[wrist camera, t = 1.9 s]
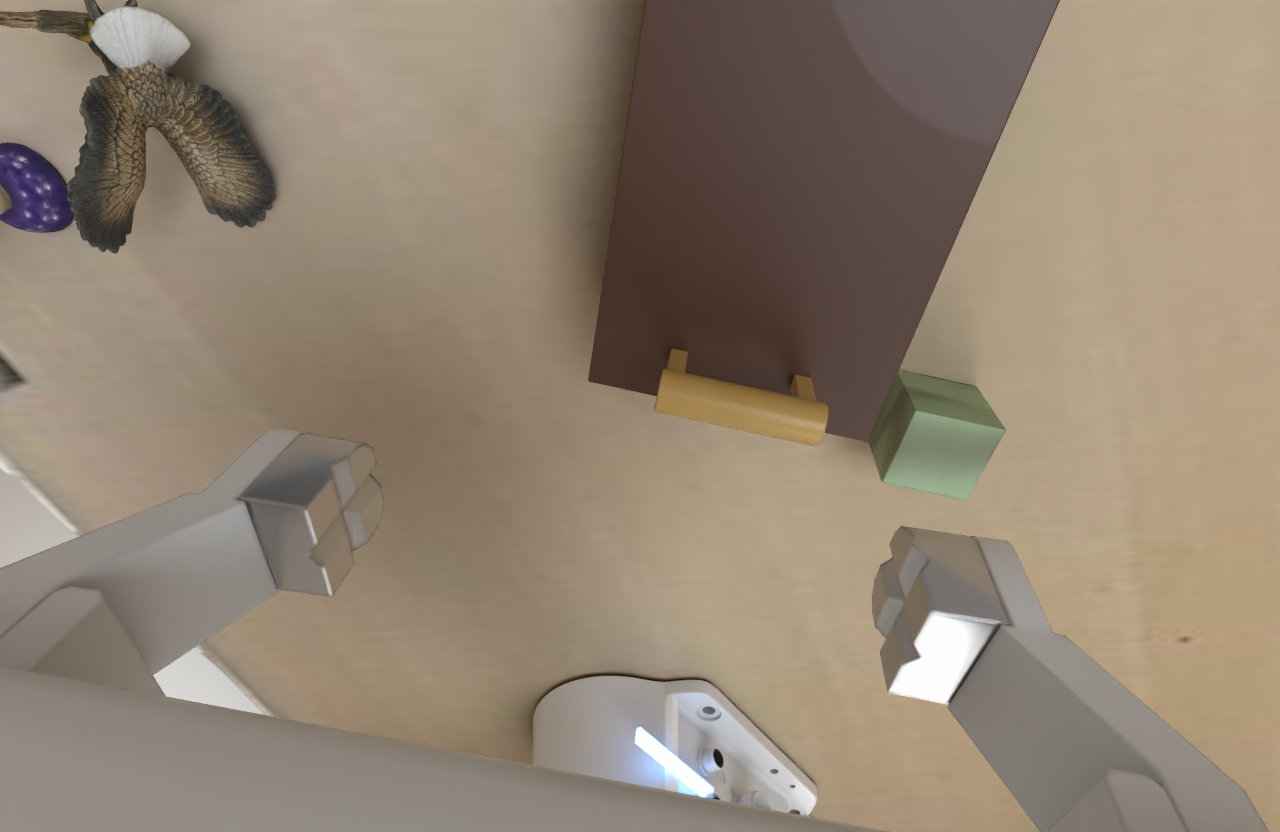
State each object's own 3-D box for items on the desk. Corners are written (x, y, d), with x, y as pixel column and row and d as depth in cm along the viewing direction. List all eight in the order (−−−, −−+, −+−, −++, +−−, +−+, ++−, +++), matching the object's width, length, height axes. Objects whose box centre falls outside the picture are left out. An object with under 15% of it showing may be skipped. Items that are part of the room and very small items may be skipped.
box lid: (865, 434, 27) (885, 499, 24) (590, 375, 28) (567, 429, 24) (1079, -62, 18) (1167, -87, 15) (669, -145, 19) (652, -189, 15)
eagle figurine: (26, 41, 27) (116, 256, 30) (-72, -22, 21) (53, 257, 24) (226, 27, 30) (292, 226, 33) (192, -33, 24) (277, 220, 26)
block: (942, 453, 33) (966, 501, 30) (866, 436, 33) (881, 482, 30) (977, 386, 31) (1007, 430, 28) (895, 368, 31) (915, 410, 28)
